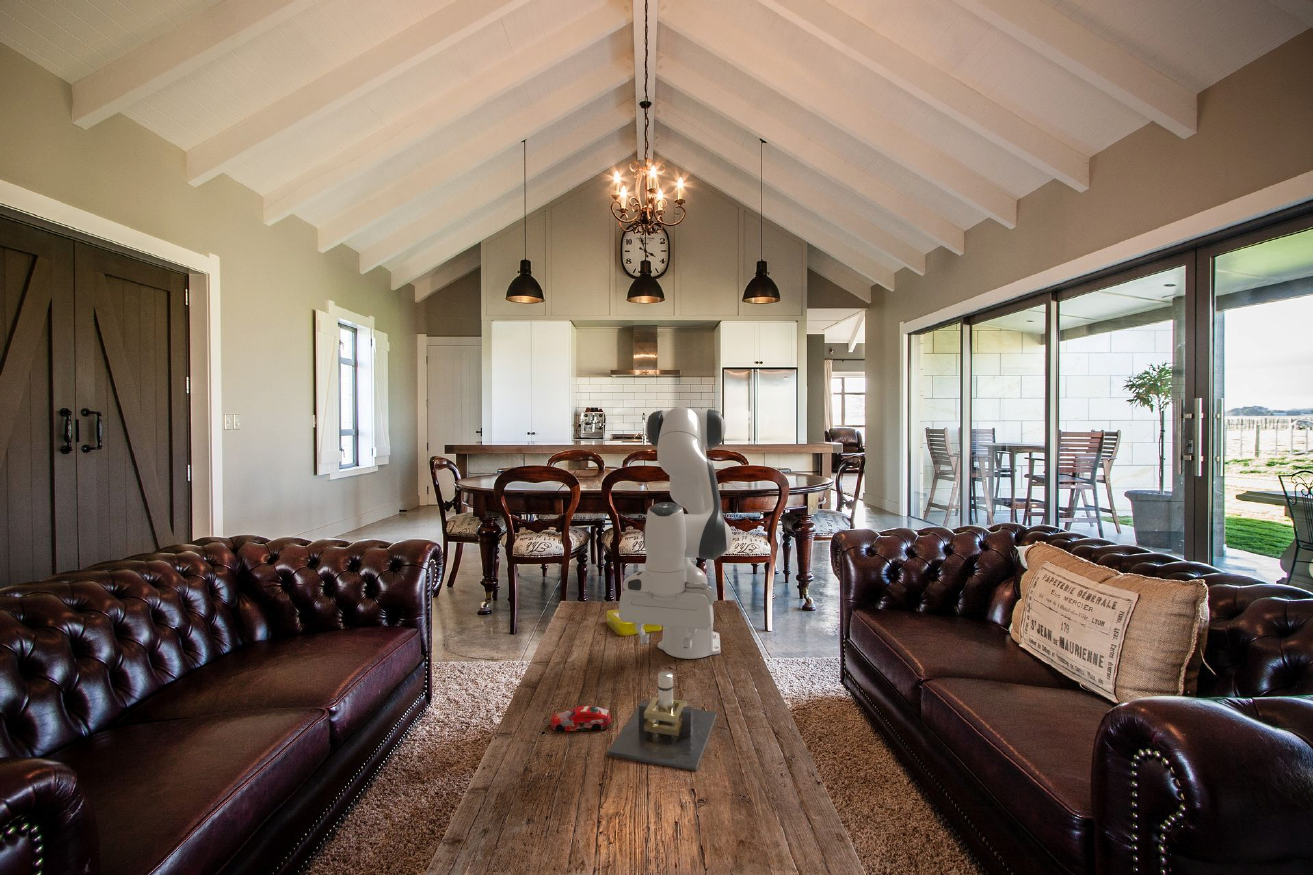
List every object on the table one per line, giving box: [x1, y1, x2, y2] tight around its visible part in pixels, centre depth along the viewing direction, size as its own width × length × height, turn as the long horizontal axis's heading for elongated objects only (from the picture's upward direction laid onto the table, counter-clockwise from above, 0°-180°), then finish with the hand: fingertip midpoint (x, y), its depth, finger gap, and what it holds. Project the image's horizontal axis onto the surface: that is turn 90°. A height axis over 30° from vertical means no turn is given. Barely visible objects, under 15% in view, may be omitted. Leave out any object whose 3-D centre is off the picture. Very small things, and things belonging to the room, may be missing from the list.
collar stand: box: [607, 696, 718, 772], centre depth 125 cm, size 22×18×6 cm
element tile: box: [606, 608, 663, 637], centre depth 195 cm, size 15×15×5 cm
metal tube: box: [657, 671, 675, 726], centre depth 125 cm, size 3×3×12 cm
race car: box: [549, 705, 612, 733], centre depth 129 cm, size 13×5×4 cm, turn 91°
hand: (666, 645), depth 125 cm, fingers open, 8 cm apart
